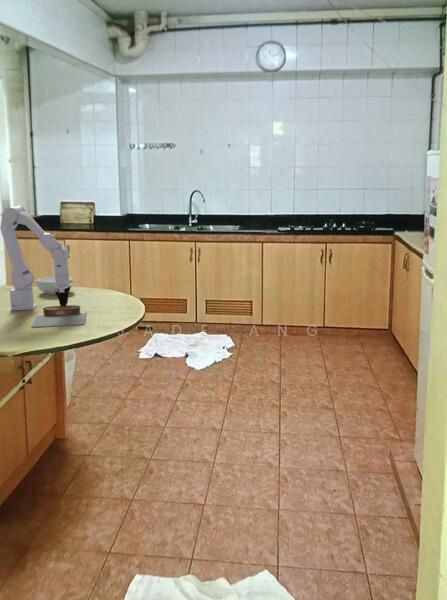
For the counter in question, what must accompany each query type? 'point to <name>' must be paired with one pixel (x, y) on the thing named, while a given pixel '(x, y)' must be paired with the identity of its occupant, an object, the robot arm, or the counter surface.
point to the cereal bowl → (49, 285)
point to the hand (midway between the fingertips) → (64, 305)
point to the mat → (59, 320)
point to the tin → (61, 310)
